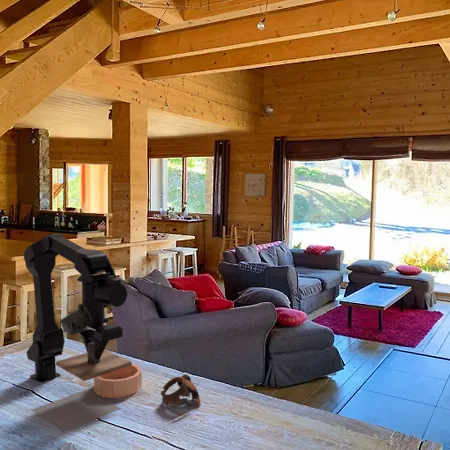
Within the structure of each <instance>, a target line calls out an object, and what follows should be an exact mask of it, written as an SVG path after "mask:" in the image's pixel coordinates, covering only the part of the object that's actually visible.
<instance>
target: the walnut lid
mask: <svg viewBox="0 0 450 450" xmlns="http://www.w3.org/2000/svg"><path fill="white" fill-rule="evenodd" d="M55 364H56V366H57V367H59V368H61V369H62V370H64V371H66V372H67V373H70V374H71V375H73V376H75V377H76V378H78V379H81V381H84V382H85V381H88V380H92V379H93V378H95V377H98V376H101V375H104V374H107V373H110V372H113V371H116V370H119V369H122V368H125V367H128V366H131V365H132V364H133V362H132V361H131V360H129V359H126V358H124V357H122V356H119V355H117V354H116V353H113V352H111V351H109V350H106V349H104V351H103V353H102V355H101V358H100V359H98V360H96V359H95V353H94V344H93V342H89V343H88V354H87V352H86V353H82V354H78V355H75V356H72V357H68V358H64V359H60V360H56V361H55Z"/></svg>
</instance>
